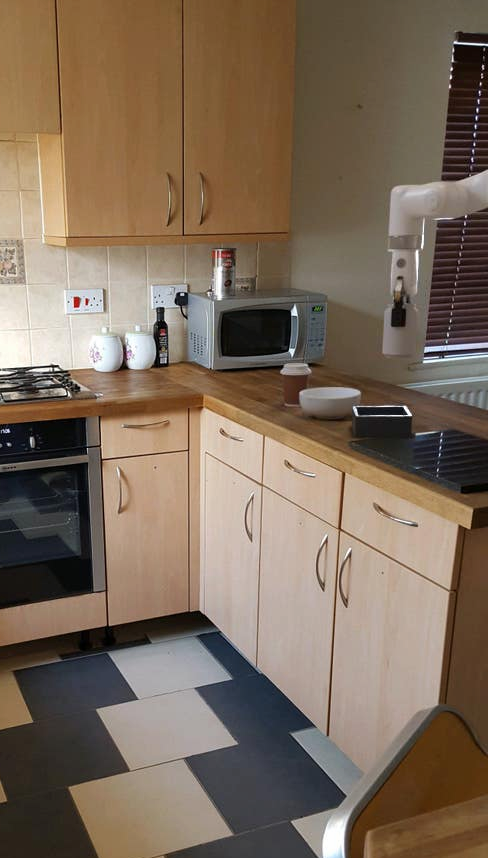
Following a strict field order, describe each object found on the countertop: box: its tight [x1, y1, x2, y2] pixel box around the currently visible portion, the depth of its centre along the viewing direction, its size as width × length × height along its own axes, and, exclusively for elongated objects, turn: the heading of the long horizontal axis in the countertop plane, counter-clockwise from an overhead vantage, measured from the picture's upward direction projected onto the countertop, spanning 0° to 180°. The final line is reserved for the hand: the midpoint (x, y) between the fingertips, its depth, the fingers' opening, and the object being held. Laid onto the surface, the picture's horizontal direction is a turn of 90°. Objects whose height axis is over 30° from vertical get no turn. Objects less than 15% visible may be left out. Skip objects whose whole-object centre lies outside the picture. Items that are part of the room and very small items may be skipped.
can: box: [382, 303, 419, 359], centre depth 202 cm, size 8×8×12 cm
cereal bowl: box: [299, 386, 362, 420], centre depth 243 cm, size 17×17×7 cm
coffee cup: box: [280, 362, 312, 407], centre depth 261 cm, size 9×9×12 cm
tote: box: [350, 405, 413, 439], centre depth 222 cm, size 14×14×6 cm
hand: (400, 324), depth 202 cm, fingers closed on can, 7 cm apart
